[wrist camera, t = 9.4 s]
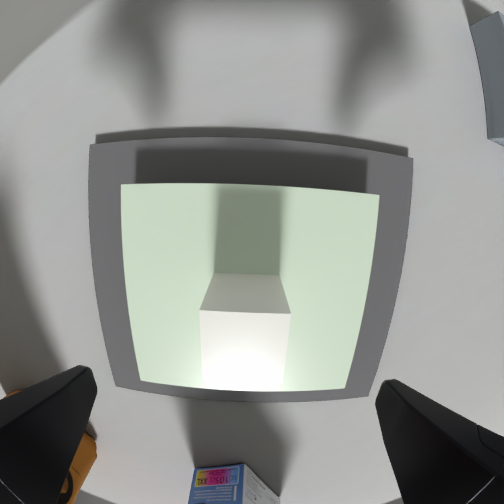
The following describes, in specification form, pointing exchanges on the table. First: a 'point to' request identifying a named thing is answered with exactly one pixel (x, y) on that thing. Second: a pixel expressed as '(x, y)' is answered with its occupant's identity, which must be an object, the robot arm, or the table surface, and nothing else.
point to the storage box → (492, 70)
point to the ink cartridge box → (229, 486)
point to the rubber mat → (253, 173)
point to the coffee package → (76, 468)
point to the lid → (246, 283)
